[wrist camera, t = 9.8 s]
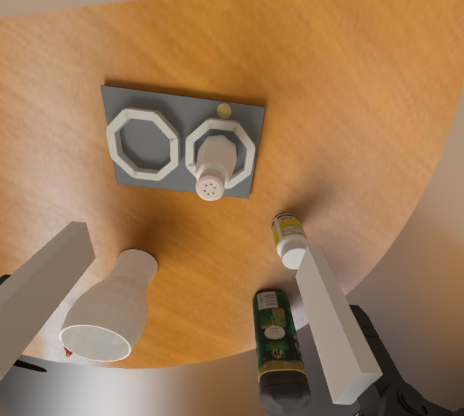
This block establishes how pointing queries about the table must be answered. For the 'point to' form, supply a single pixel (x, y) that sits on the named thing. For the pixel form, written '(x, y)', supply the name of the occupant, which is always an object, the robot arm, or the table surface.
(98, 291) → the cup
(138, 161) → the collar board
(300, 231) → the supplement bottle
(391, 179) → the table surface
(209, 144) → the pepper shaker
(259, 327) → the coffee jar
